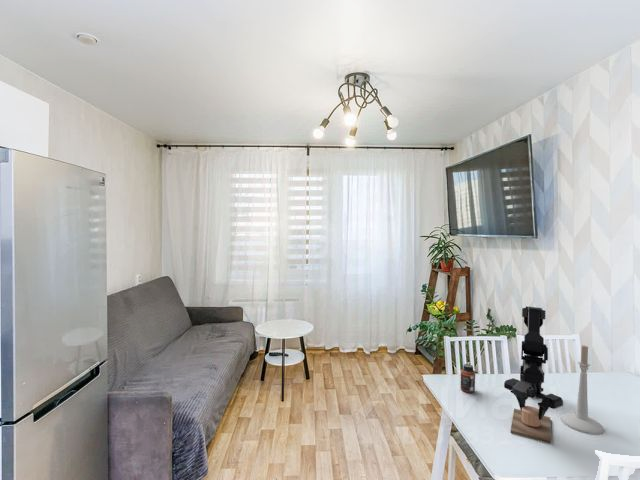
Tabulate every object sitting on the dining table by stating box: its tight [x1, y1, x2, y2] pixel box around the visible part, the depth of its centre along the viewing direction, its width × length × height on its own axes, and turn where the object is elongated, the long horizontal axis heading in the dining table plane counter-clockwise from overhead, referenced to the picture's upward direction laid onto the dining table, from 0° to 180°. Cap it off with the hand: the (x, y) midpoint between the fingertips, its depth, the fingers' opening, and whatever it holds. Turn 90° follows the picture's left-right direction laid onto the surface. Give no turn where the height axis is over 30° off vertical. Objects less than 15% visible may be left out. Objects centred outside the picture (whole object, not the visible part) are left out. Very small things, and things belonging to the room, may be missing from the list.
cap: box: [521, 405, 541, 427], centre depth 132 cm, size 6×6×4 cm
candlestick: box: [560, 344, 605, 435], centre depth 133 cm, size 13×13×30 cm
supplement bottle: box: [460, 363, 476, 394], centre depth 160 cm, size 6×6×11 cm
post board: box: [510, 408, 552, 444], centre depth 132 cm, size 18×12×6 cm, turn 148°
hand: (531, 415), depth 132 cm, fingers closed on cap, 6 cm apart
